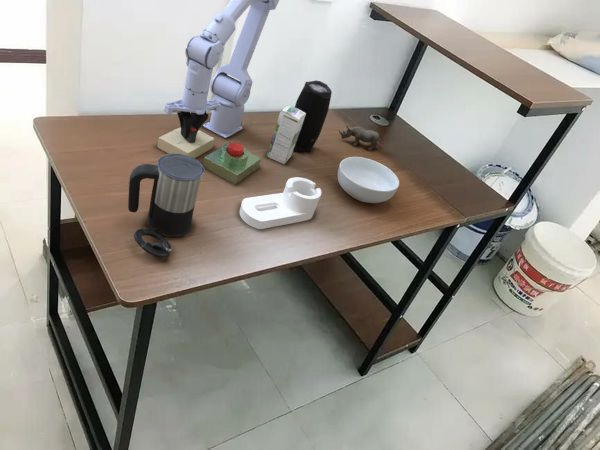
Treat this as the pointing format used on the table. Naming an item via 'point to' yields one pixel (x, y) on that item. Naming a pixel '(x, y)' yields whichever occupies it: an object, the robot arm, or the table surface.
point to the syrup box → (286, 134)
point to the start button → (235, 149)
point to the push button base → (231, 164)
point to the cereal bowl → (367, 180)
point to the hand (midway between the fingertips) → (187, 136)
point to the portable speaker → (312, 113)
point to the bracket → (282, 205)
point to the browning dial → (192, 135)
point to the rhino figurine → (361, 136)
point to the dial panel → (185, 143)
